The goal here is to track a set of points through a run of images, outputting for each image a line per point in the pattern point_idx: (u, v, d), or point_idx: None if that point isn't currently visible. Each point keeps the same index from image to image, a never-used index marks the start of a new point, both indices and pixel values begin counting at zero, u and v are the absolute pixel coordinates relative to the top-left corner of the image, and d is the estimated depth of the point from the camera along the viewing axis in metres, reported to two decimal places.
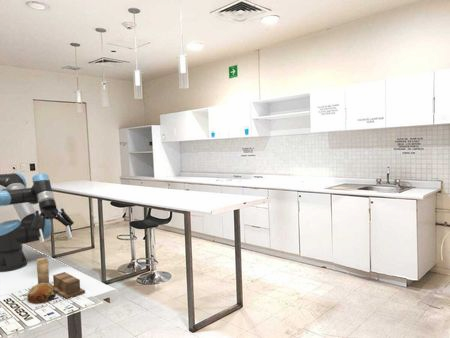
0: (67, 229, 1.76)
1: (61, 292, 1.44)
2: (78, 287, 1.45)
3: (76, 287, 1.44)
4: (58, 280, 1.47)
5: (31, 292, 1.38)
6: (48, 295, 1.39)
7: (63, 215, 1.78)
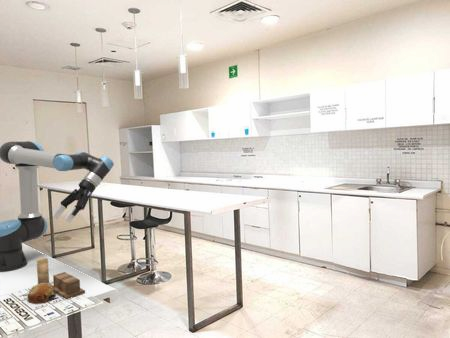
0: (62, 209, 1.66)
1: (61, 292, 1.44)
2: (78, 287, 1.45)
3: (76, 287, 1.44)
4: (58, 280, 1.47)
5: (31, 292, 1.38)
6: (48, 295, 1.39)
7: None
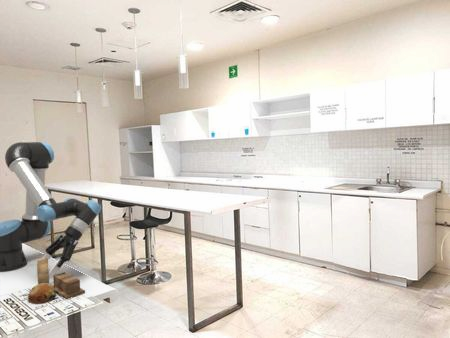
0: None
1: (61, 292, 1.44)
2: (78, 287, 1.45)
3: (76, 287, 1.44)
4: (58, 280, 1.47)
5: (32, 292, 1.38)
6: (49, 295, 1.39)
7: None
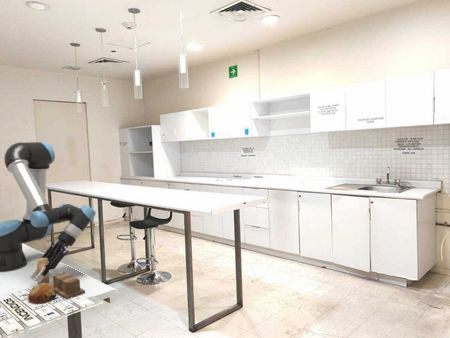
0: None
1: (61, 292, 1.44)
2: (78, 287, 1.45)
3: (76, 287, 1.44)
4: (58, 280, 1.47)
5: (32, 292, 1.38)
6: (49, 295, 1.38)
7: None
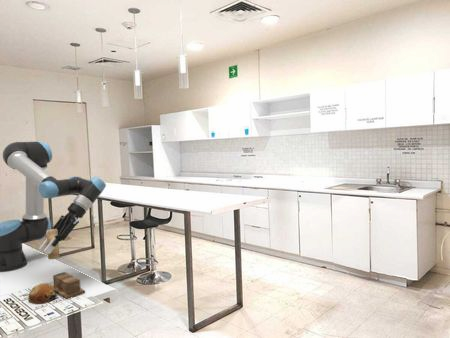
0: None
1: (61, 292, 1.44)
2: (78, 287, 1.45)
3: (76, 287, 1.44)
4: (58, 280, 1.47)
5: (32, 293, 1.38)
6: (49, 295, 1.38)
7: None
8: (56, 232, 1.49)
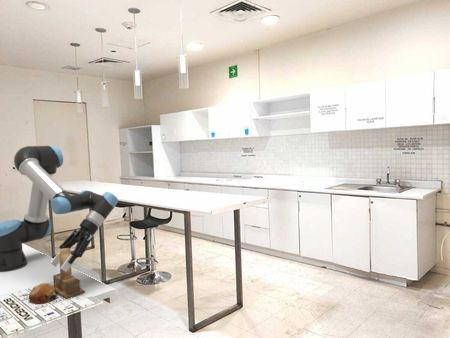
0: None
1: (61, 292, 1.44)
2: (78, 287, 1.45)
3: (76, 287, 1.44)
4: (58, 280, 1.47)
5: (33, 293, 1.38)
6: (49, 295, 1.38)
7: None
8: (69, 251, 1.47)
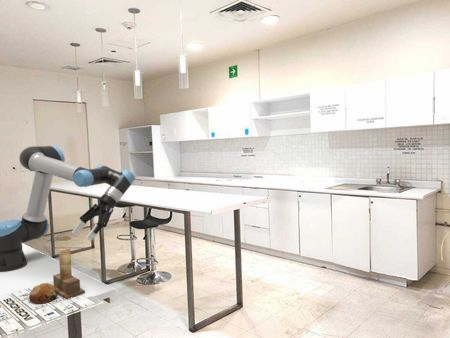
0: (81, 225, 1.59)
1: (61, 292, 1.44)
2: (78, 287, 1.45)
3: (76, 287, 1.44)
4: (58, 280, 1.47)
5: (33, 293, 1.38)
6: (50, 295, 1.38)
7: None
8: (69, 252, 1.46)
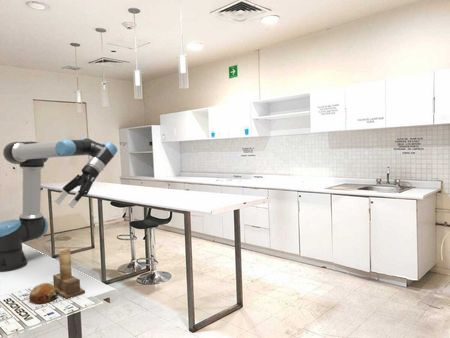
0: (64, 195, 1.62)
1: (61, 292, 1.44)
2: (78, 287, 1.45)
3: (76, 287, 1.44)
4: (58, 280, 1.47)
5: (33, 293, 1.38)
6: (50, 295, 1.38)
7: None
8: (69, 252, 1.46)
